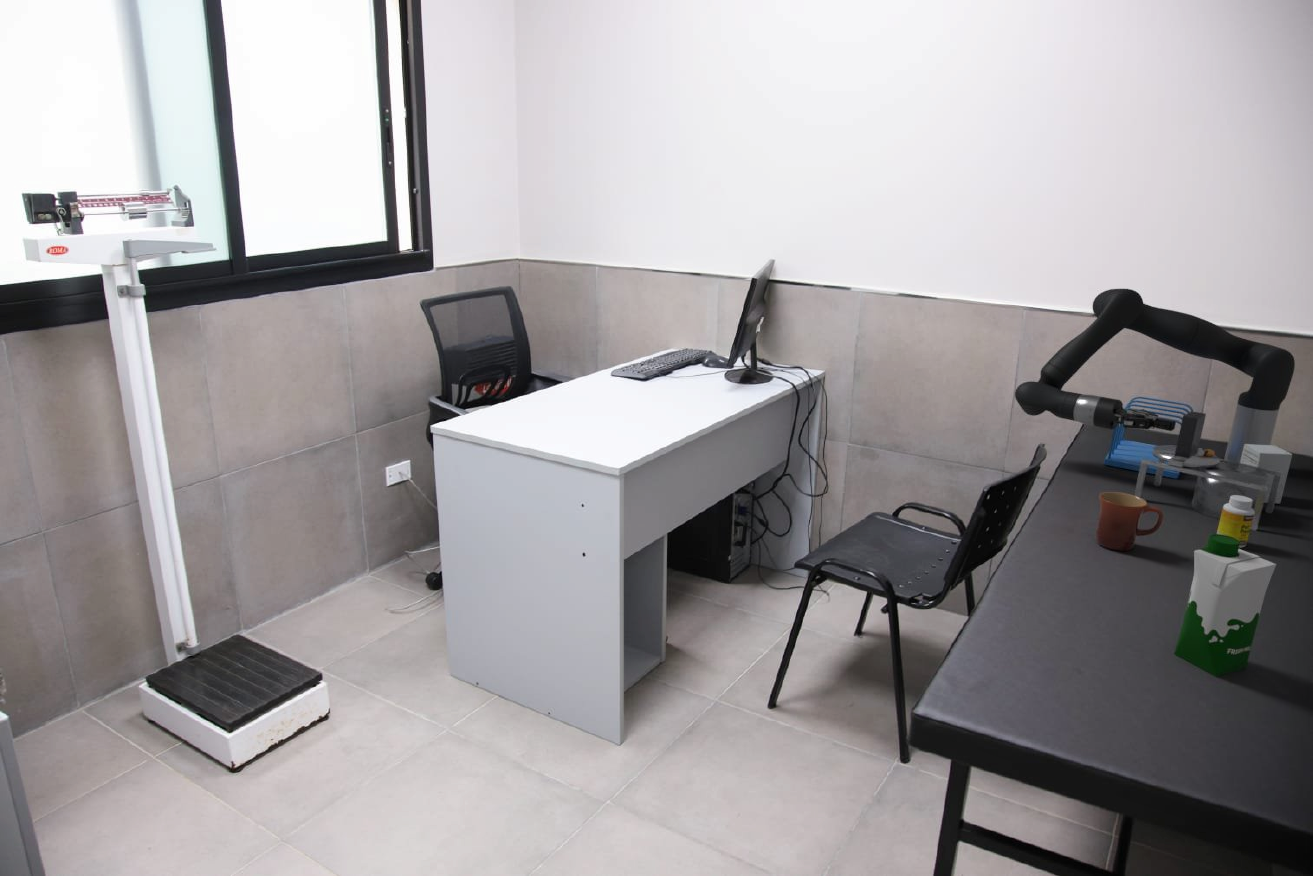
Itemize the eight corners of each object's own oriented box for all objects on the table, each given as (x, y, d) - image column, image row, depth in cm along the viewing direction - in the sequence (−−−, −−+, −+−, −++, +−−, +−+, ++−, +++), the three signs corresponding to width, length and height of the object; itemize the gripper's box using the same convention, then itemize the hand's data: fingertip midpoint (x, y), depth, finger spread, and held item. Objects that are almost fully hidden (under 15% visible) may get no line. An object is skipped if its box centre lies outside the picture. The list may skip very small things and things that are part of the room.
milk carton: (1201, 642, 143) (1228, 529, 137) (1256, 670, 135) (1287, 552, 129) (1164, 652, 139) (1190, 537, 134) (1218, 682, 131) (1249, 560, 126)
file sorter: (1177, 480, 223) (1189, 422, 219) (1102, 466, 232) (1113, 410, 228) (1186, 457, 243) (1198, 403, 238) (1117, 444, 252) (1127, 393, 248)
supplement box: (1263, 493, 215) (1275, 444, 211) (1280, 504, 208) (1293, 454, 204) (1231, 491, 215) (1243, 443, 212) (1248, 502, 208) (1260, 452, 205)
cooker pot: (1133, 499, 208) (1141, 459, 205) (1154, 484, 219) (1162, 446, 216) (1255, 530, 191) (1266, 487, 188) (1272, 512, 202) (1282, 471, 199)
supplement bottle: (1238, 551, 180) (1249, 504, 177) (1209, 541, 184) (1220, 496, 181) (1251, 545, 183) (1262, 500, 180) (1222, 536, 187) (1233, 491, 184)
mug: (1090, 548, 178) (1099, 502, 175) (1090, 534, 186) (1098, 488, 183) (1157, 560, 174) (1167, 513, 171) (1153, 545, 181) (1163, 499, 178)
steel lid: (1142, 458, 205) (1151, 414, 201) (1163, 445, 216) (1172, 403, 213) (1208, 473, 195) (1218, 427, 192) (1226, 458, 207) (1237, 415, 203)
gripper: (1090, 400, 212) (1169, 415, 200) (1109, 392, 221) (1185, 406, 209) (1085, 430, 214) (1162, 446, 203) (1104, 421, 223) (1179, 436, 212)
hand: (1174, 426), depth 206 cm, fingers closed
